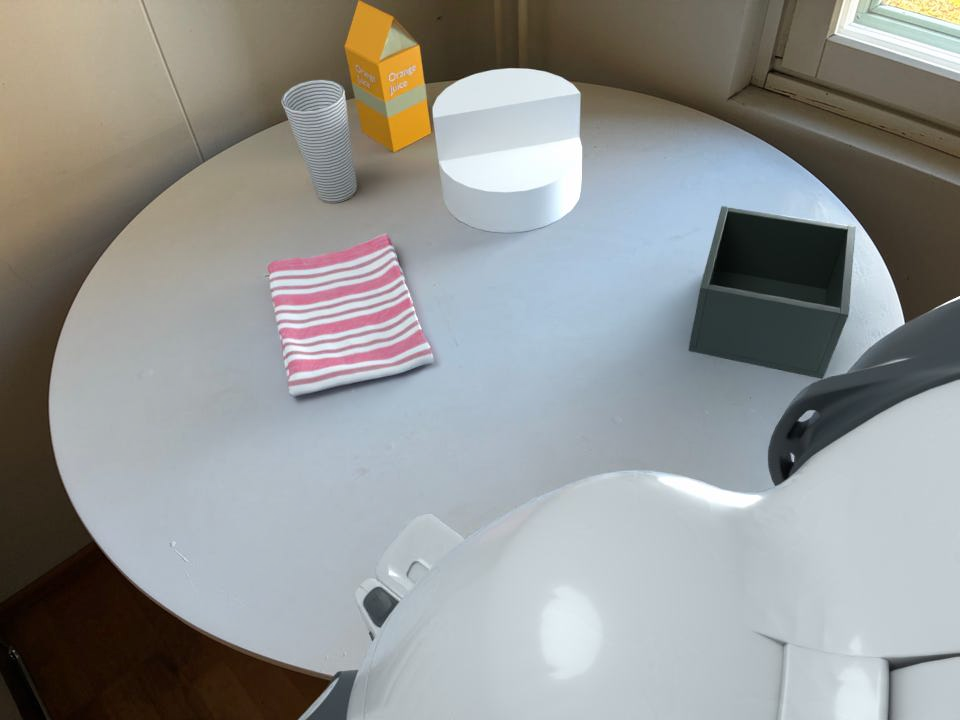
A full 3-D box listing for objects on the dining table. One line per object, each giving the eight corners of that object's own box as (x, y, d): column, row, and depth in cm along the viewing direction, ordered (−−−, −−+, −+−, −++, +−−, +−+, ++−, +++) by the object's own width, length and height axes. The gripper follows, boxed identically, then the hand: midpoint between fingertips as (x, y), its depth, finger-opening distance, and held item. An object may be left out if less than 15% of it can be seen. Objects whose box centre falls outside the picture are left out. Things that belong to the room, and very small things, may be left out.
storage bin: (832, 291, 93) (855, 226, 85) (823, 378, 84) (848, 315, 76) (709, 269, 97) (721, 205, 89) (688, 350, 88) (700, 287, 81)
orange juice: (393, 152, 120) (370, 26, 105) (361, 132, 124) (335, 8, 110) (432, 132, 123) (415, 6, 108) (399, 113, 128) (379, -10, 113)
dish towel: (393, 247, 104) (389, 226, 102) (437, 367, 89) (433, 347, 86) (269, 278, 102) (261, 257, 99) (291, 407, 86) (283, 387, 84)
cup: (299, 188, 115) (271, 93, 103) (349, 168, 118) (327, 72, 106) (323, 216, 110) (296, 118, 98) (375, 193, 113) (355, 96, 101)
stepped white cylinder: (455, 244, 104) (445, 159, 94) (433, 163, 117) (422, 81, 107) (598, 218, 105) (603, 132, 95) (560, 141, 118) (560, 58, 109)
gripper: (553, 763, 49) (667, 602, 56) (339, 578, 59) (458, 460, 65) (554, 788, 54) (659, 637, 60) (355, 613, 64) (465, 500, 70)
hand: (553, 544), depth 63 cm, fingers closed on supplement box, 4 cm apart
